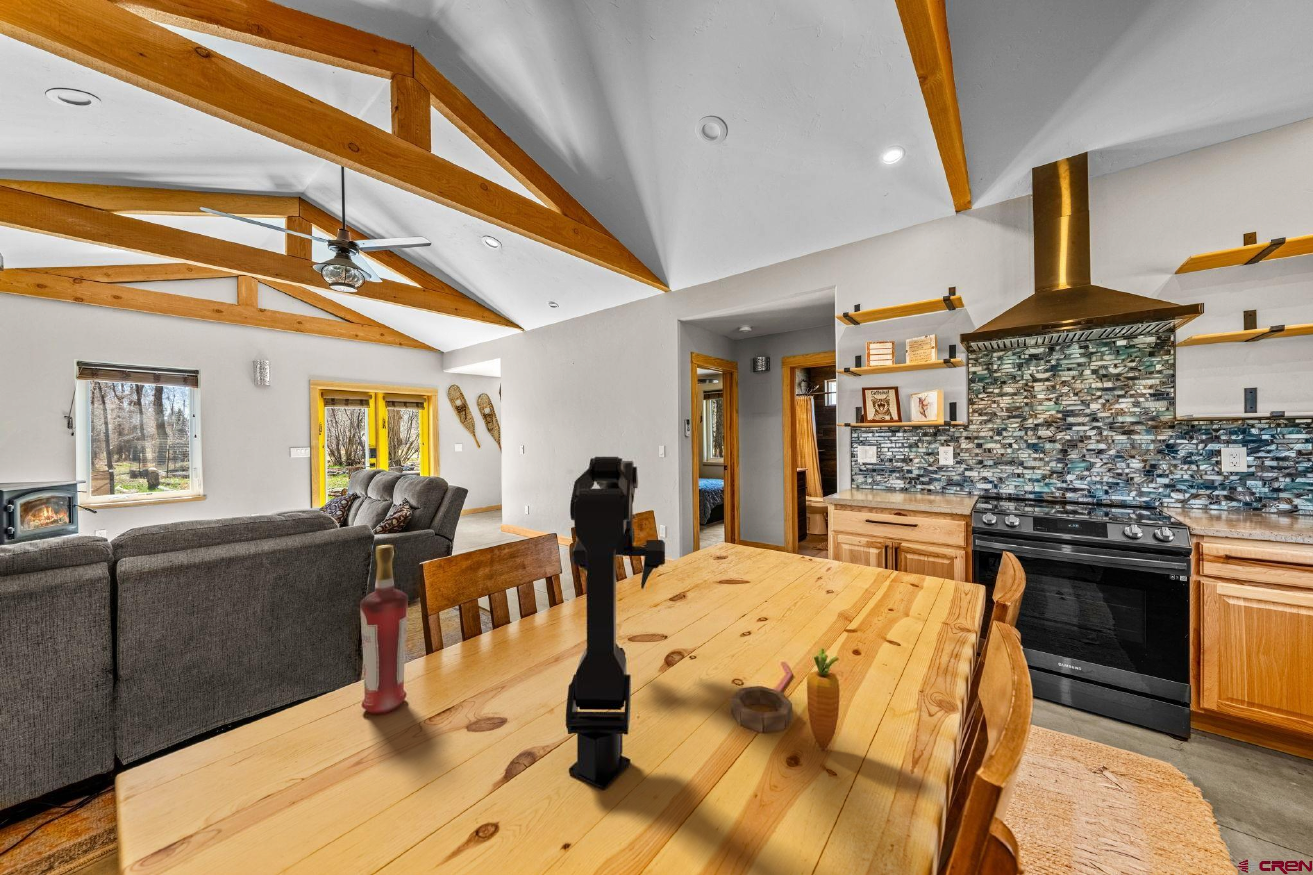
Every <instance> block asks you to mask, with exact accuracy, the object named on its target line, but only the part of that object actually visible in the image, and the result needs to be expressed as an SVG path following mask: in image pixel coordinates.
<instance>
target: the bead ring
mask: <svg viewBox="0 0 1313 875" xmlns="http://www.w3.org/2000/svg"><path fill="white" fill-rule="evenodd" d="M730 700H731V703H730V704H731V711H730V712H731V715H732V716H733V718H734V719H735V720H736V722H737V723H738V724H739V726H741V727H743V728H746V729H749V730H752V731H755V732H758V733H760V734H762V733H764V734H768V733H772V732H773V733H774V732H778V731H779V732H781V731H785V730H787V728H788V726H789V725H790V723H791V721H792V720H793V702H792V701H791V700H790V699H789V698H788V697H787V696H786V695H785V694H784V693H783V691H781V692H780V691H778V690H775V688H774V689H772V688H771V687H766V686H763V685H754V686H753V685H752V686H747V687H746V686H744V687H740V688H738V690H737V691H736V692H735V693H734V695H732V697H731V699H730ZM758 704H761V705H765V706H767V707H771V708H773V709H774V708H775V709H776V710H775V711H768V712H761V711H757V710H754V709H751V708H747V707H746V706H752V705H758Z"/></svg>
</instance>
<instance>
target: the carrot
mask: <svg viewBox="0 0 1313 875" xmlns="http://www.w3.org/2000/svg"><path fill="white" fill-rule="evenodd" d="M818 652H819V654H818V653H815V654H814V655H813V659H814V662H815V665H816V667H817V670H815V671H811V672H809V673H807V676H806V693H807V694H806V696H807V697H806V700H807V712H808V719H809V723H810V729H811V732H812V735H813V737H814V738H813V739H815V742H816V743H817V746H818V748H819V749H820V750H821V751H825V750H827V749H828V747H829V746H830V744H831V743H832V740H833V739H834V736H835V733H836V729H837V724H838V719H839V711H840V690H841V689H840V683H839V678H838V677H837V676H836V675H834V674H832V673H831V672H830V670H831V669H830V668H831V666H832V665H833V664H834V663H835V662H837V661H839V660H840V659H839V657H838V656H835V657H832V658H830V660H829V661H827V660H828V658H829V656H828V654H826V652H825V648H820V649H818Z"/></svg>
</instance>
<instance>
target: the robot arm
mask: <svg viewBox="0 0 1313 875" xmlns="http://www.w3.org/2000/svg"><path fill="white" fill-rule="evenodd" d="M634 463H635V462H634V461H633V460H623V457H622V458H621V457H619V456H595V457H591V458H590V461H589V466H588V468H587V469H586V470H585V471H584V472H583V473H582V474H581V475H580V476H579V477H577V479H575V481H574V484H573V488H572V494H571V499H570V507H569V514H570V515H569V516H570V520H571V521H573V522H574V523H573V525H574V536H575V537H576V539H577V540H576V541H575V542H574V545H573V549H572V552H571V564H572V565H578V568H580V569H584V571H585V572H586V574H585V575H586V577H585V578H586V580H585V581H586V583H585V584H586V587H585V588H586V594H585V595H586V648H585V650H584V652H583V654H582V655H581V657H580V658H579V659H580V660H579V663H578V665H577V668H576V671H575V673H574V674H573V676H572V680H571V682H570V683H569V684H568V689H567V697H566V698H567V699H566V707H565V709H566V710H565V727H566V729H567V734H568V735H573V734H576V736H577V737H576V740H577V741H576V742H577V743H576V745H577V746H576V748H577V749H576V751H577V752H576V753H577V754H576V762H575V763H573V764H572V765H570V766H569V768H568V774H569V775H571V776H573V777H576V778H577V779H579V780H581V781H583V782H586V783H588V784H590V785H592V786H595V787H596V788H599V789H601V790H605V789H607V788H608V787H609V786H611V784H612V783H613V782H614V781H615V780H616V779H617V778H618V777H619V776H620V775H621V774H622V773H623V772H624V771H625V770H626V769H627V768H628V767H629V766H630V765H631V759H630V758H628V757H626V756H624V755H623V736H624V735H625V736H626V735H627V736H629V732H630V731H629V729H630V723H631V722H630V721H631V703H632V702H631V697H632V696H631V695H632V694H631V692H632V691H631V690H632V689H631V688H632V676H631V674H630V673H629V674H627V669H628V668H627V657H626V651H625V650H624V648H623V647H619V645H618V644H617V590H616V589H617V584H616V583H617V581H616V580H617V570H616V569H617V566H616V565H617V562H616V561H617V557H643V558H644V559H643V565H642V572H641V573H642V574H641V578H640V580H641V582H640V587H641V588H640V589H642V590H644V588H645V585H646V584H647V581H648V578H649V576H650V574H652V572H653V571H654V569H659V566H663V565H665V564H666V542H665V541H664V540H663V539H645V545H644V546H643V545H641V546H640V545H638V546H637V545H636V546H635V545H634V543H635V528H634V517H633V515H634V514H633V513H634V512H633V510H634V509H633V503H634V501H635V500H634V499H635V493H636V489H638V488H639V477H638V475H639V474H638V467H637V466H635V464H634ZM595 483H596V486H598V487H599V488H593V487H594V485H595ZM622 708H624V711H622ZM578 709H579V710H581V711H578ZM582 710H583V711H582ZM584 710H586V711H584ZM587 710H588V711H587ZM589 710H591V711H589ZM592 710H595V711H592ZM596 710H598V711H596ZM599 710H600V711H599ZM608 710H609V711H608Z"/></svg>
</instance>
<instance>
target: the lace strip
mask: <svg viewBox="0 0 1313 875" xmlns="http://www.w3.org/2000/svg"><path fill="white" fill-rule="evenodd" d="M780 665H781V667H782V669H783V671H784V673H785V674H784V675H783V677H782V678H781V680H780V682H779V683H778V684H777V686H776V687H775V688H774V690H778V691H780V692H783V689H784V688H785V687H786V685H787V684H788V682H789V681H790V679H791V678H792V677H793V673H792V671H791V669H790V667H789V665H788V663H787V662H786V661H780Z"/></svg>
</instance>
